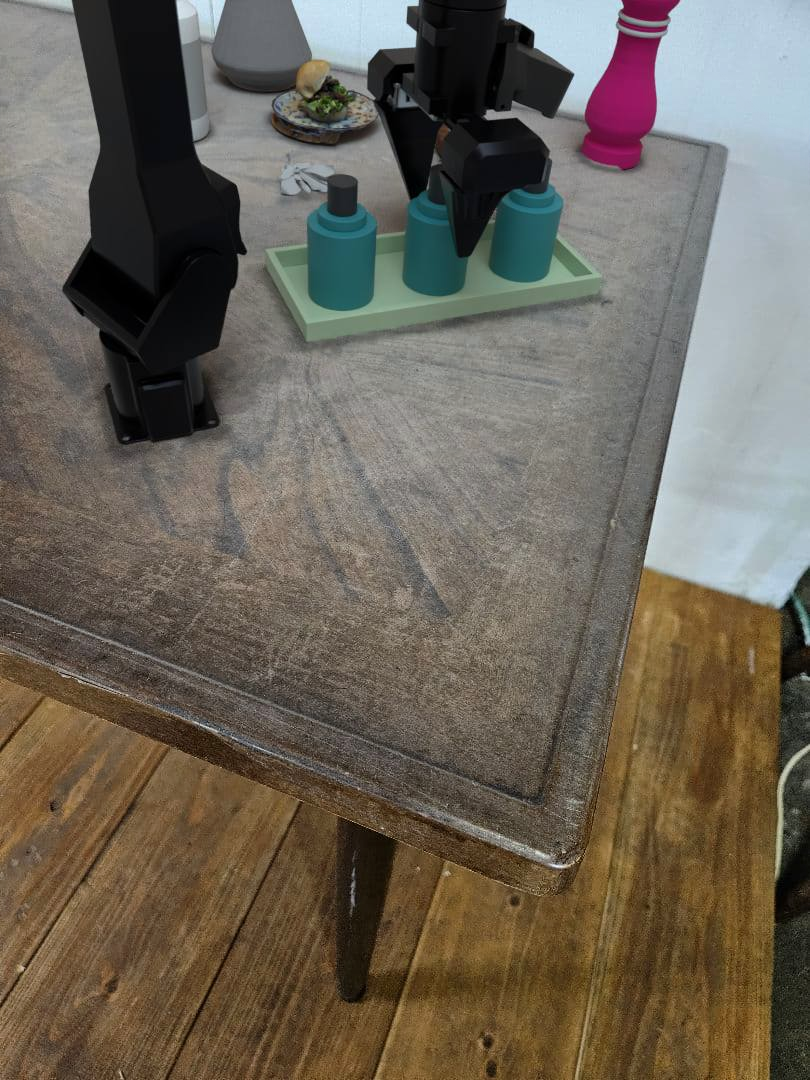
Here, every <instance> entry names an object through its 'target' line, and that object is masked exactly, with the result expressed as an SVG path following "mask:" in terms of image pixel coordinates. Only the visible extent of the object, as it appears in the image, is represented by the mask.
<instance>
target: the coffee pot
mask: <svg viewBox="0 0 810 1080" xmlns="http://www.w3.org/2000/svg"><path fill="white" fill-rule="evenodd" d="M222 7H223V8H222V11H221V14H220V17H219V21H218V25H217V28H216V31H215V35H214V39H213V42H212V45H211V48H210V52H211V56H212V59H213V62H214V63H215V66H216V68H218V70H219V71H220V72H221V73H222V74H223V75H224V76H225V77H226V78H228V79H229V80H230V83H232V85H234V86H235V87H238V88H240V89H244V90H247V91H252V92H260V93H261V92H262V93H265V92H267V93H268V92H269V93H271V92H272V93H273V92H279V91H280V92H281V91H284V90H288V89H290V88H292V87H294V86H296V78H297V74H298V71H299V69H300V68H301V67H302V66H303V65H304V64H305V63H306V61H307V62H309V61H312V60H313V53H312V50H311V47H310V44H309V42H308V40H307V37H306V34H305V32H304V29H303V26H302V24H301V22H300V21H301V20H300V18H299V16H298V13H297V10H296V8H295V5H294V3H293V1H292V0H224V4H223V6H222ZM300 46H301V47H300ZM301 48H302V50H301ZM302 51H303V53H302ZM303 54H304V56H305V57H304V56H303ZM305 58H306V60H305Z"/></svg>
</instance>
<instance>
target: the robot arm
mask: <svg viewBox="0 0 810 1080" xmlns="http://www.w3.org/2000/svg"><path fill="white" fill-rule="evenodd" d="M71 4H72V5H71V6H72V9H73V14H74V19H75V25H76V29H77V34H78V40H79V43H80V48H81V53H82V54H81V55H82V58H83V63H84V68H85V72H86V77H87V83H88V89H89V92H90V97H91V103H92V107H93V112H94V117H95V122H96V127H97V132H98V138H99V153H98V155H97V159H96V163H95V166H94V170H93V173H92V177H91V180H90V183H89V186H88V193H87V194H88V208H89V225H90V226H89V227H90V238H89V239H88V242H87V243H86V245H85V247H84V249H83V250H82V252H81V254H80V256H79V258H77V260H76V262H75V264H74V266H73V268H72V269H71V271H70V273H69V275H68V277H67V278H66V280H65V282H64V283H63V285H62V286H61V287H62V288H61V291H62V294H63V295H64V296H65V298H66V299H67V300H68V302H69V303H70V304H71V306H72V307H73V308H74V310H75V311H76V312H77V313H78V314H79V315H80V316H81V317H83V318H84V317H85V318H86V320H88V321H89V322H90V323H92V324H93V325H94V326H95V327H96V328H98V329H99V331H98V339H99V342H100V346H101V351H102V354H103V355H102V356H103V358H104V363H105V368H106V372H107V377H108V381H109V382H108V383H106V384H104V387H103V388H104V392H105V396H106V400H107V401H106V402H107V405H108V408H109V412H110V416H111V420H112V424H113V428H114V432H115V435H116V439H117V442H118V443H119V444H120V445H122V446H123V445H124V446H126V445H132V444H137V443H143V442H148V441H157V440H164V439H168V438H174V437H178V436H184V435H189V434H192V433H194V432H200V431H205V430H210V429H215V428H218V427H219V426H220V425H221V420H220V417H219V414H218V412H217V409H216V406H215V404H214V402H213V399H212V396H211V393H210V391H209V389H208V386H207V383H206V380H205V377H204V376H203V373H202V367H201V360H200V356H203V355H205V354H208V353H210V352H212V351H214V350H217V349H218V348H219V346H220V344H221V339H222V334H223V329H224V325H225V319H226V314H227V310H228V305H229V302H230V301H229V300H230V296H231V292H232V291H233V290H234V289H235V288H236V286H237V282H238V278H239V265H240V264H239V261H240V260H239V256H238V255H241V256H246V255H247V254H248V249H247V247H246V246H245V243H244V241H243V238H242V234H241V230H240V229H241V227H240V225H241V224H240V223H241V222H240V220H241V219H240V218H241V197H240V192H239V188H238V185H237V184H236V183H235V182H233V181H231V180H230V179H228V178H226V177H225V176H223V175H221V174H219V173H218V172H216V171H215V170H213V169H211V168H209V167H208V166H207V165H205V164H204V163H202V161H201V159H200V158H199V156H198V153H197V149H196V146H195V141H194V140H193V132H192V124H191V116H190V107H189V99H188V91H187V83H186V75H185V67H184V58H183V50H182V42H181V34H180V26H179V18H178V9H177V1H176V0H71ZM507 5H508V0H418V5H407V7H406V20H405V23H406V25H408V26H409V28H411V29H412V30H414V31H415V32H416V33H415V34H416V35H415V46H414V47H413V46H412V47H397V48H396V47H395V48H380V49H378V51H376V53H374V55H373V56H372V58H370V60H369V61H368V62H367V74H366V75H367V80H366V81H367V82H366V90H367V91H368V92H370V94H371V95H372V96H373V97H374V98H373V100H374V106H375V108H376V109H377V111H378V114H379V116H378V117H379V118H380V122H381V124H382V128H383V129H384V132H385V135H386V137H387V140H388V143H389V145H390V148H391V150H392V153H393V157H394V160H395V162H396V164H397V168H398V171H399V174H400V177H401V179H402V182H403V185H404V188H405V191H406V194H407V196H408V199H409V202H410V201H411V200H412V199H414V198H416V197H418V196H419V195H420V193H421V192H423V191H425V190H428V187H429V177H430V168H431V167H432V166H433V160H434V154H435V150H436V146H435V144H436V139H437V134H438V131H439V129H440V128H441V127H442V125H443V124H444V125H445V126H446V127H447V128H448V129H449V131H450V132H449V133H448V134H447V135H446V136H445V137H444V138H443V147H442V158H443V160H442V164H444V168H445V170H441V171H440V172H439V174H440V179H441V184H442V189H443V195H444V199H445V204H446V209H447V214H448V220H449V225H450V230H451V235H452V240H453V244H454V248H455V252H456V255H457V257H458V258H465V257H469V256H471V255H472V253H473V251H474V249H475V247H476V245H477V243H478V241H479V239H480V237H481V236H482V234H483V232H484V230H485V228H486V226H487V224H488V222H489V220H491V218H492V216H493V215H494V212H495V211H496V210H497V206H498V205H499V203H500V202H501V200H502V199H503V197H504V196H505V195H507V194H508V193H509V192H511V191H512V190H515V189H523V188H526V187H528V186H529V185H531V184H540V183H542V182H543V180H544V179H545V175H546V170H547V164H548V159H549V158H550V155H551V154H550V153H551V150H550V149H549V147H548V146H547V144H546V143H545V142H544V140H543V139H542V137H541V136H540V135H538V134H537V133H536V132H535V131H533V129H531V128H530V127H529V126H528V125H527V124H525V123H524V122H523V121H522V120H521V119H520V118H518V117H508V118H496V119H487V118H486V117H485V116H487V111H491V110H492V111H494V112H495V113H501V112H511V111H512V107H513V102H514V103H517V104H519V105H522V106H524V107H527V108H529V109H532V110H535V111H537V112H540V113H541V116H542V117H544V118H547V119H550V120H553V119H555V117H556V115H557V112H558V110H559V108H560V106H561V104H562V102H563V100H564V98H565V97H566V94H567V91H568V89H569V88H570V86H571V83H572V81H573V79H574V77H575V73H574V72H573V71H572V70H570V69H569V68H568V67H566V66H565V65H563V64H562V63H560V62H559V61H557V60H556V59H555V58H553V57H552V56H550V55H548V54H547V53H545V52H543V51H542V50H540V49H539V48H538V47H535V37H536V35H535V34H536V33H535V31H534V30H533V29H531V28H530V27H528V26H526V25H525V24H524V23H522V22H520V21H517V20H516V19H513V18H511V17H509V18H506V12H507ZM210 422H214V423H210ZM124 438H128V439H126V440H124Z"/></svg>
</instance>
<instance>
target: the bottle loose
mask: <svg viewBox="0 0 810 1080" xmlns="http://www.w3.org/2000/svg"><path fill="white" fill-rule="evenodd" d="M441 170H445V168H444V163H437V164H432V165H431V168H430V176H429V181H428V187H427V189H426V190H425V191H423V192H421V193H420V195H419V196H418V197H416V198H414V199H412V200H411V201H410V200H409V202H408V203H407V206H406V218H405V230H404V231H405V245H404V258H403V272H402V279H403V282H404V283H405V285H406V286H407V287H408V288H410V289H411V290H413V291H415V292H418V293H421V294H424V295H429V296H446V295H451V294H454V293H456V292H458V291H460V290H461V289H462V288H463V286H464V284H465V278H466V271H467V263H468V257H465V258H458V257H457V255H456V252H455V248H454V244H453V240H452V235H451V230H450V225H449V220H448V214H447V209H446V204H445V199H444V195H443V189H442V184H441V179H440V174H439V172H440V171H441Z"/></svg>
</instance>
